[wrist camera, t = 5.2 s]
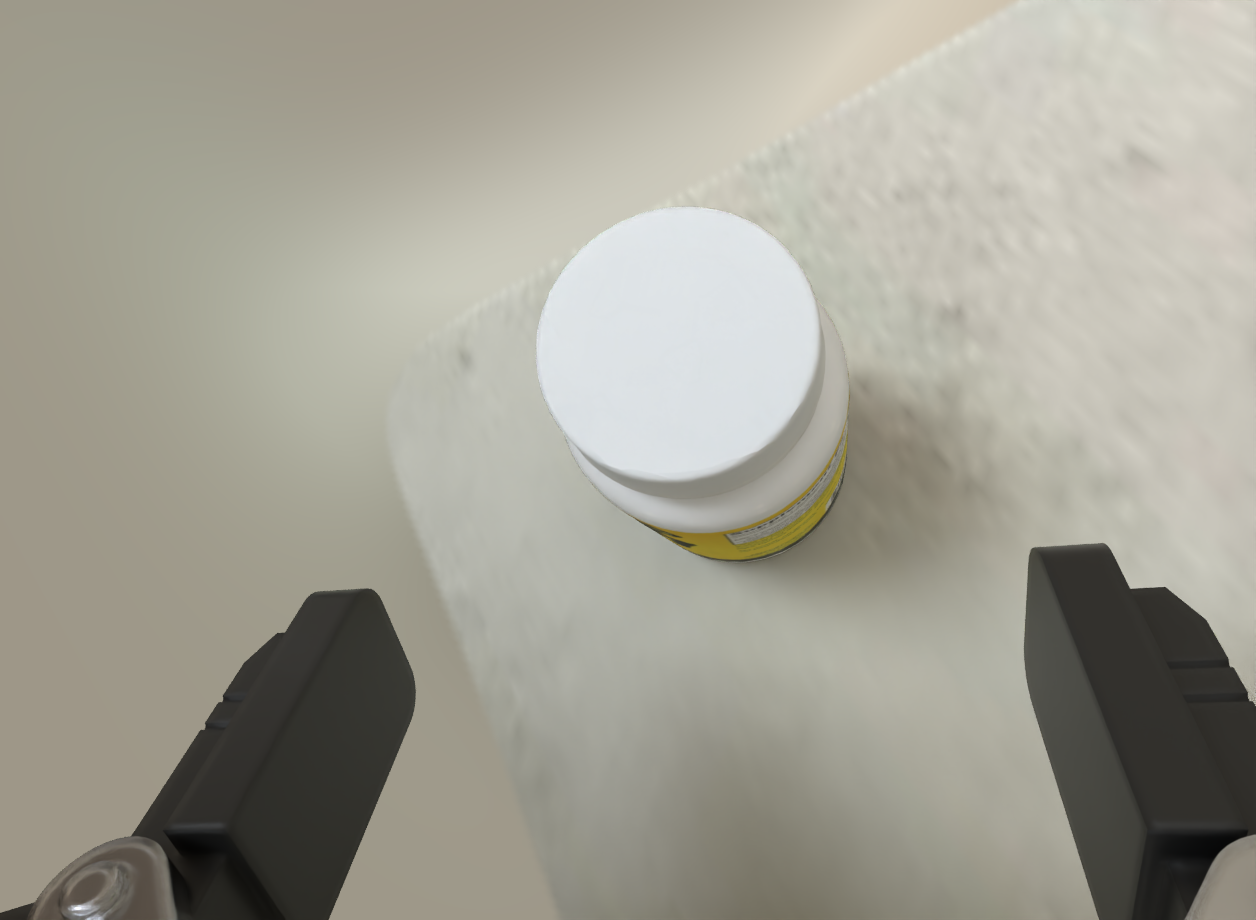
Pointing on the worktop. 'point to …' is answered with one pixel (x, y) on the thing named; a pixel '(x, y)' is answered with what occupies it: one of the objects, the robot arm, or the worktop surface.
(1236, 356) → the worktop surface
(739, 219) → the supplement bottle
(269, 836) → the robot arm
